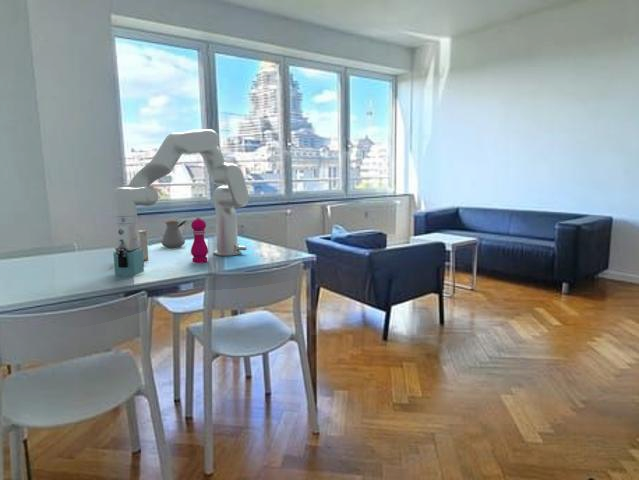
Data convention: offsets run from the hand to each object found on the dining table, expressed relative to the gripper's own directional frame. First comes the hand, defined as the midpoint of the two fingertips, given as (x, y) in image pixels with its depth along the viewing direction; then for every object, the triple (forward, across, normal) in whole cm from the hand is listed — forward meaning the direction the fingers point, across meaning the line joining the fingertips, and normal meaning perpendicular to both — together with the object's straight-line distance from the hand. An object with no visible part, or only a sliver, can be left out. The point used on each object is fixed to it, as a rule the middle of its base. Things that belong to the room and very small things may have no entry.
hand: (129, 264), depth 177 cm
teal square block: (+3, 0, 0) cm, 3 cm away
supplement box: (+4, +24, +8) cm, 26 cm away
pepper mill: (+4, +23, -20) cm, 31 cm away
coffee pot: (+4, +53, +1) cm, 53 cm away
